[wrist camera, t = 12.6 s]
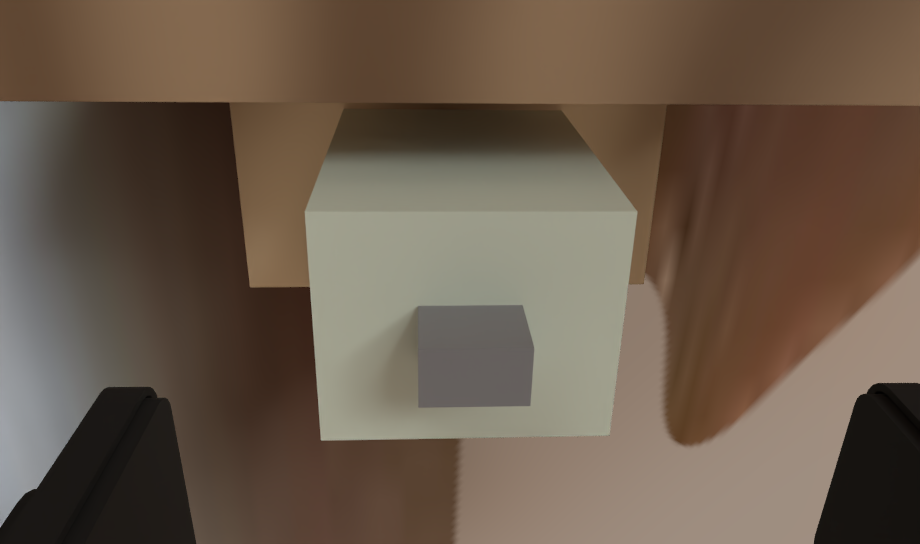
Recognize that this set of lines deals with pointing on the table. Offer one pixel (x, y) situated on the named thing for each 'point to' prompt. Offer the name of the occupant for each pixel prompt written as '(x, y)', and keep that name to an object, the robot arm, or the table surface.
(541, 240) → the cabinet
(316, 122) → the brown box
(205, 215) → the table surface
